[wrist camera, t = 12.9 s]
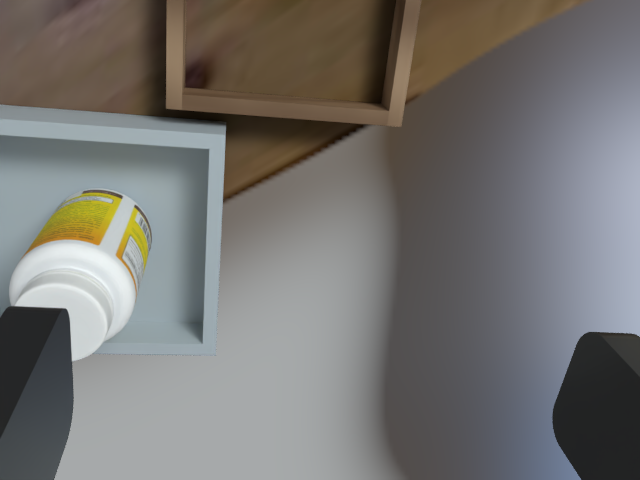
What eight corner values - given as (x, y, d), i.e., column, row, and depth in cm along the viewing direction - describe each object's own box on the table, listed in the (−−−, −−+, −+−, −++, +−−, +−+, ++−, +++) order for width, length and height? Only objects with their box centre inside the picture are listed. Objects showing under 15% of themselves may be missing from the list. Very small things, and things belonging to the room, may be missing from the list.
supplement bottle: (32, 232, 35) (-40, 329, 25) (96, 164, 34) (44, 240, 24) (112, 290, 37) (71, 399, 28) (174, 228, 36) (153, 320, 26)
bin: (-36, 101, 32) (-61, 114, 29) (226, 121, 34) (225, 135, 31) (-8, 324, 37) (-27, 352, 35) (216, 328, 40) (215, 355, 37)
